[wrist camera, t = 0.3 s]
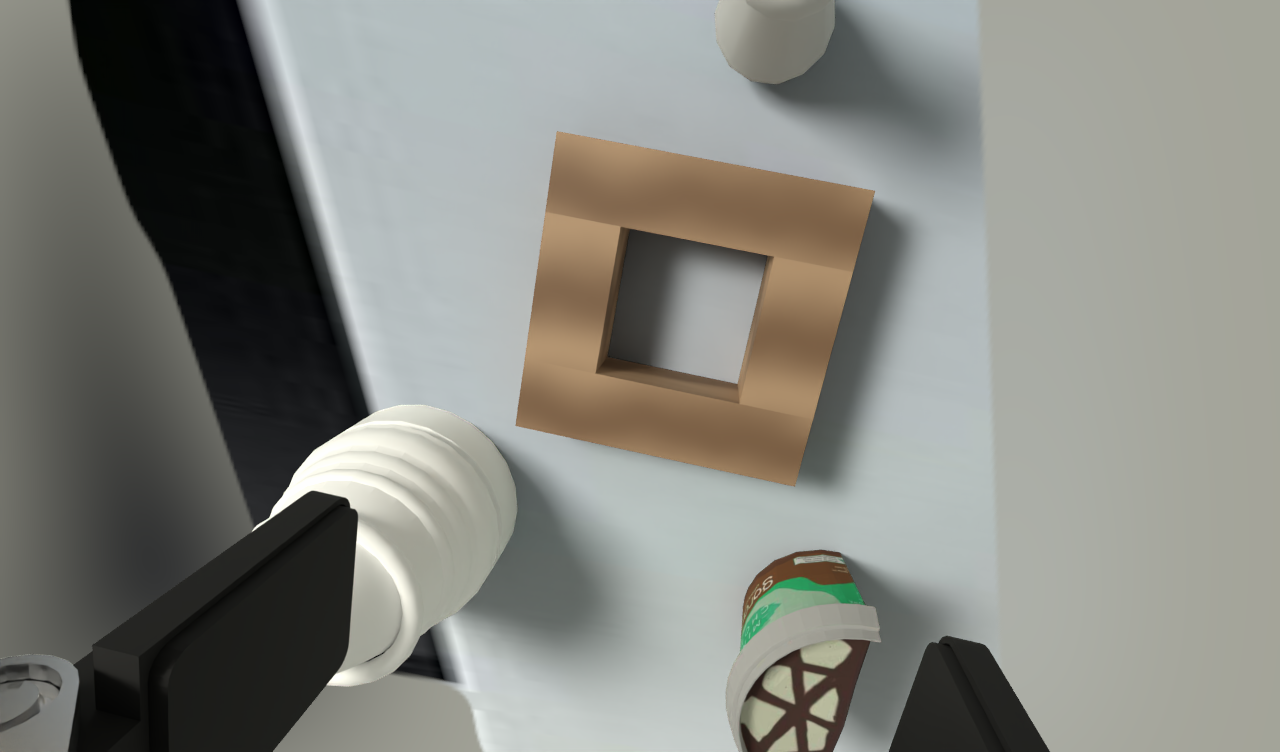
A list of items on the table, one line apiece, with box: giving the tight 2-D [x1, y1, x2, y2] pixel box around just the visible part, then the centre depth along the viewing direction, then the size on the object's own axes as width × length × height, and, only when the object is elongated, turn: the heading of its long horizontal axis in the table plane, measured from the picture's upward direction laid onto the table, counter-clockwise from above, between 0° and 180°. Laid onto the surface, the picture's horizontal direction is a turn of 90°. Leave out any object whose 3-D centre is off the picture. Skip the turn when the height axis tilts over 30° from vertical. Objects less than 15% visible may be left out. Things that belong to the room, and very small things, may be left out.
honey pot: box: [253, 405, 518, 686], centre depth 36 cm, size 13×13×18 cm
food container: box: [726, 550, 881, 752], centre depth 38 cm, size 12×6×10 cm, turn 169°
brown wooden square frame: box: [516, 131, 875, 486], centre depth 37 cm, size 16×16×4 cm
